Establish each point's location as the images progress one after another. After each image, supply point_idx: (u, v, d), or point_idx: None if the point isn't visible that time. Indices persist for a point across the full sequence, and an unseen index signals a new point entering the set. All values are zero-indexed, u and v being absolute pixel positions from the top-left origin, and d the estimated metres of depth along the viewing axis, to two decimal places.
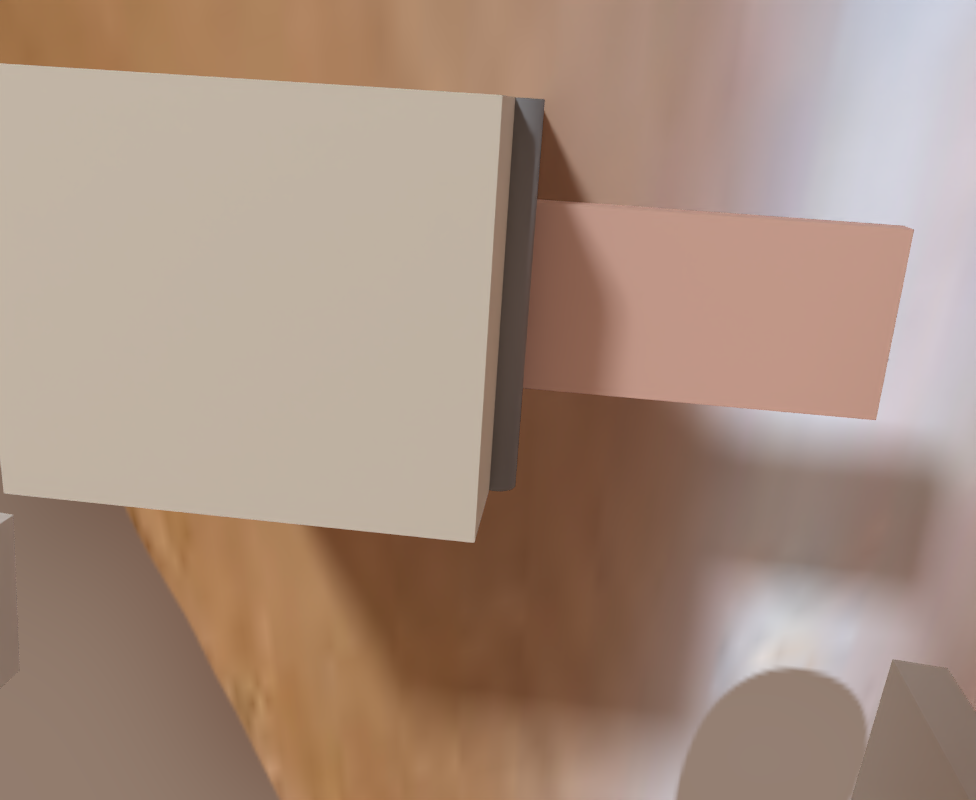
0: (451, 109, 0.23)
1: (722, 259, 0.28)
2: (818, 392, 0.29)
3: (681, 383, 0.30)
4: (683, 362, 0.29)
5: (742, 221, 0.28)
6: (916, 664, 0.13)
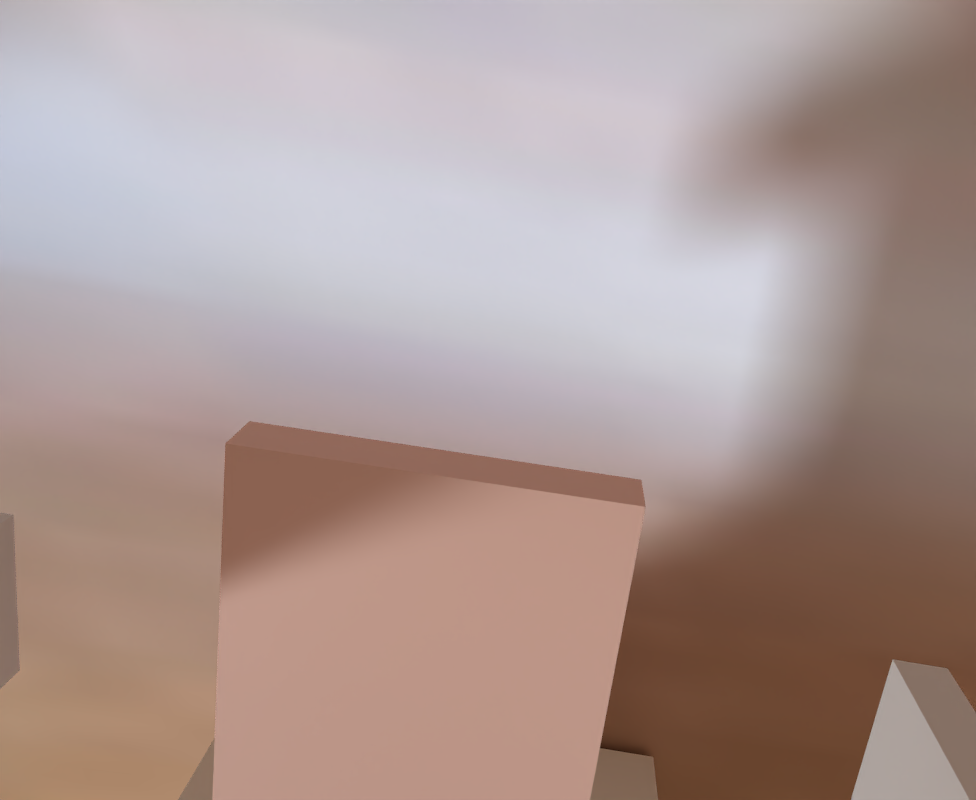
0: None
1: (293, 771, 0.15)
2: (571, 617, 0.13)
3: None
4: None
5: (222, 737, 0.15)
6: (916, 664, 0.13)
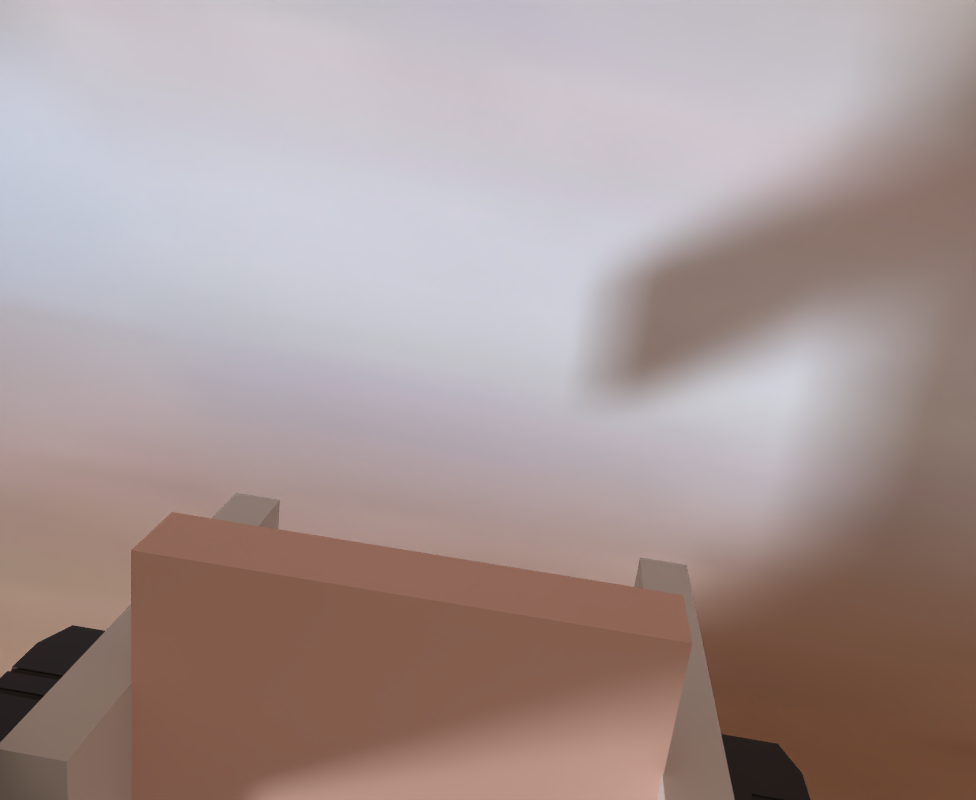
0: None
1: None
2: (590, 781, 0.10)
3: None
4: None
5: None
6: (660, 561, 0.15)
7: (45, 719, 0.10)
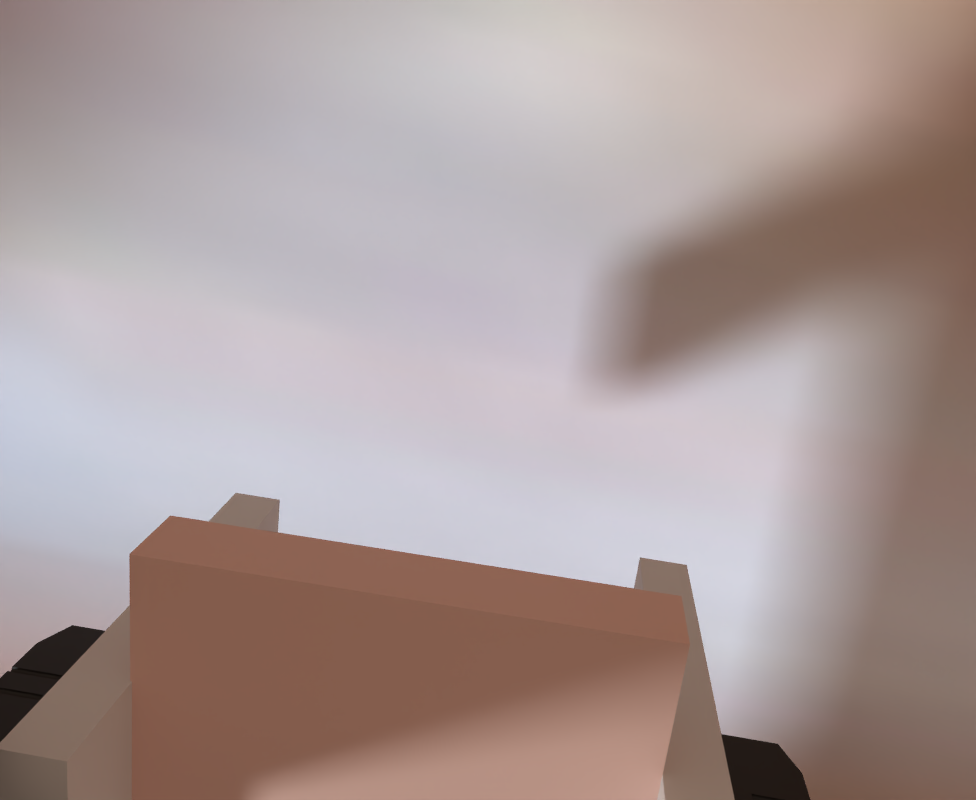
0: None
1: None
2: (589, 783, 0.10)
3: None
4: None
5: None
6: (660, 561, 0.15)
7: (45, 719, 0.10)
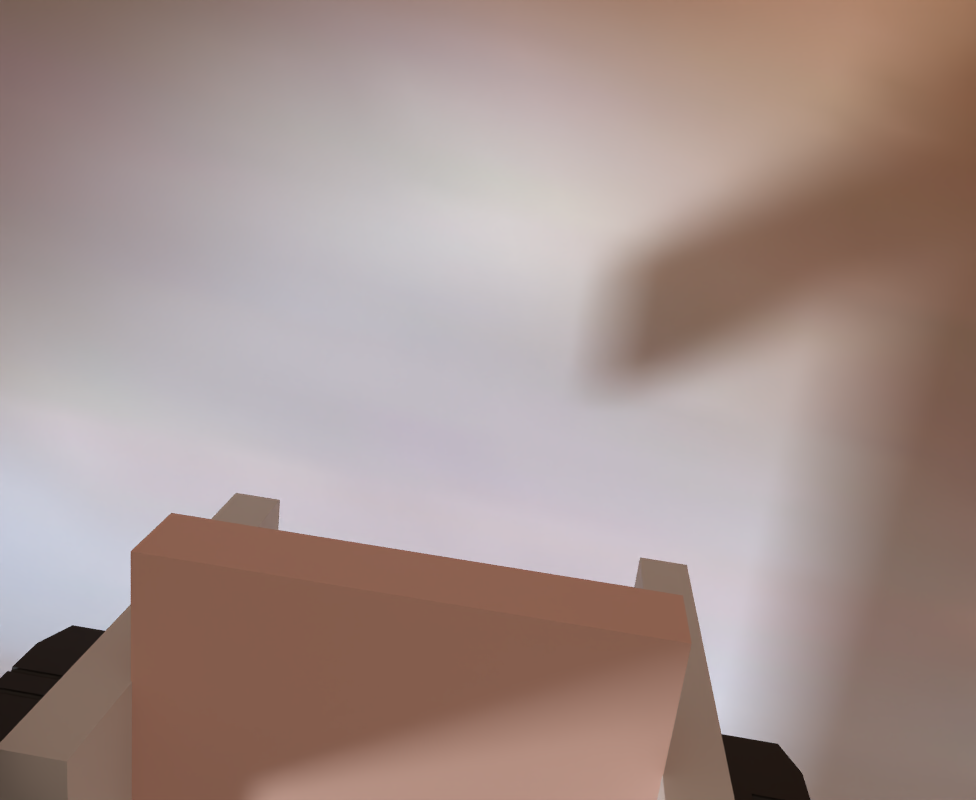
0: None
1: None
2: (589, 782, 0.10)
3: None
4: None
5: None
6: (660, 561, 0.15)
7: (45, 719, 0.10)
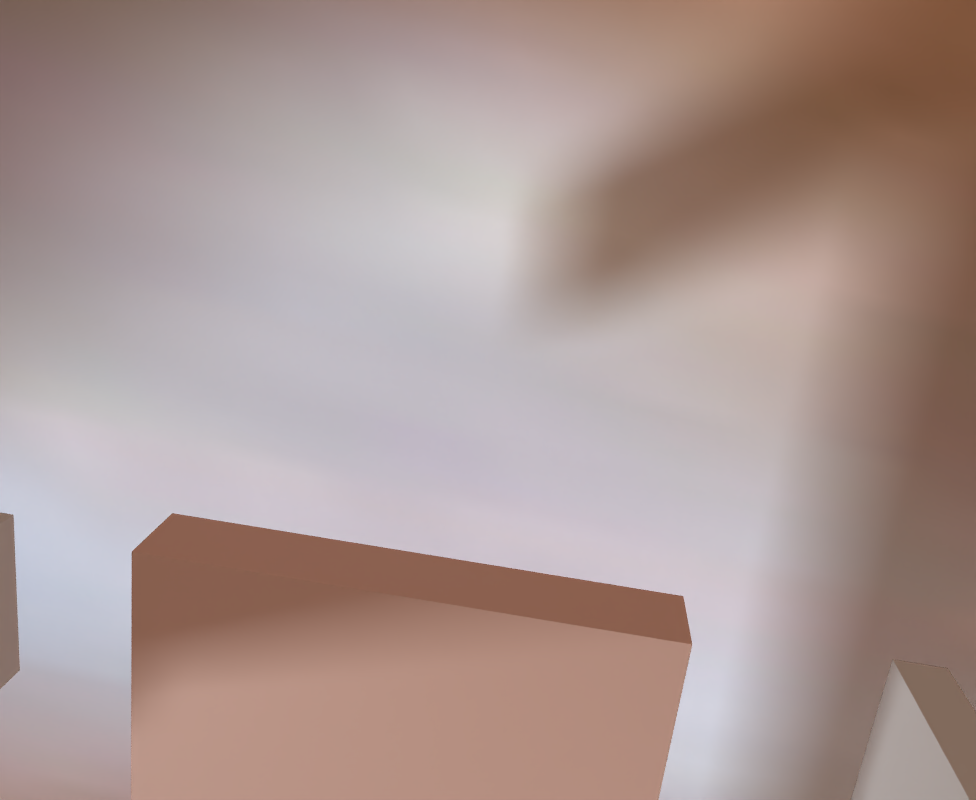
0: None
1: None
2: (590, 782, 0.10)
3: None
4: None
5: None
6: (916, 664, 0.13)
7: None
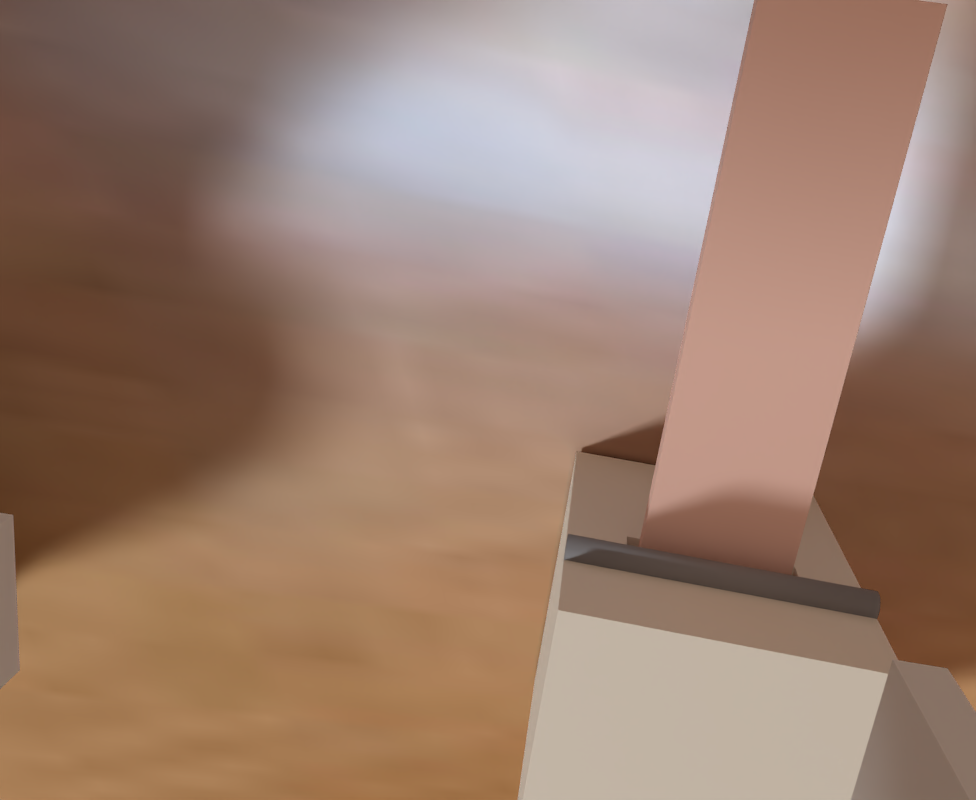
0: (563, 642, 0.33)
1: (763, 153, 0.32)
2: (907, 62, 0.31)
3: (876, 192, 0.32)
4: (856, 190, 0.32)
5: (732, 135, 0.32)
6: (916, 664, 0.13)
7: None
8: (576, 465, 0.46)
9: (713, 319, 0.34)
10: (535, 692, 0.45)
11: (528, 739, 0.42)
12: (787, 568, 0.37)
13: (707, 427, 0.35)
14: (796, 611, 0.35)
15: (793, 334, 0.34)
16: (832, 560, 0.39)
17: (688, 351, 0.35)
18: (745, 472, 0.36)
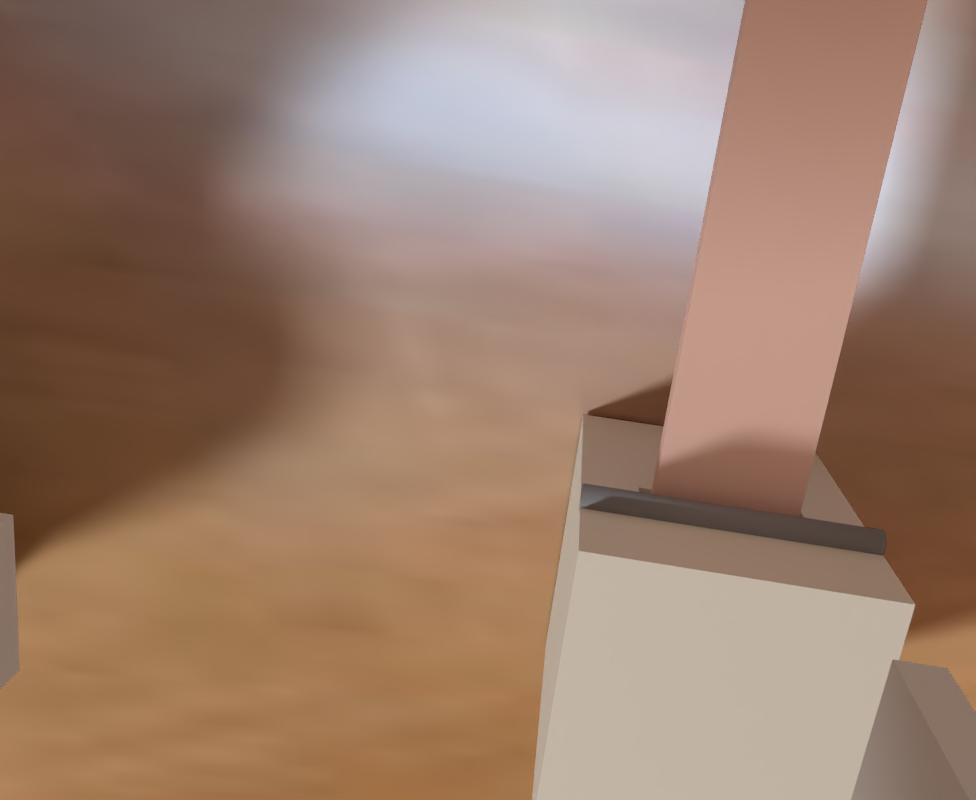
0: (584, 582, 0.34)
1: (765, 105, 0.33)
2: (901, 14, 0.32)
3: (874, 141, 0.33)
4: (854, 139, 0.33)
5: (735, 89, 0.33)
6: (916, 664, 0.13)
7: None
8: (584, 426, 0.47)
9: (720, 269, 0.35)
10: (550, 648, 0.46)
11: (545, 692, 0.43)
12: (795, 512, 0.38)
13: (715, 375, 0.37)
14: (806, 550, 0.36)
15: (797, 282, 0.35)
16: (836, 506, 0.41)
17: (696, 301, 0.36)
18: (753, 418, 0.37)
